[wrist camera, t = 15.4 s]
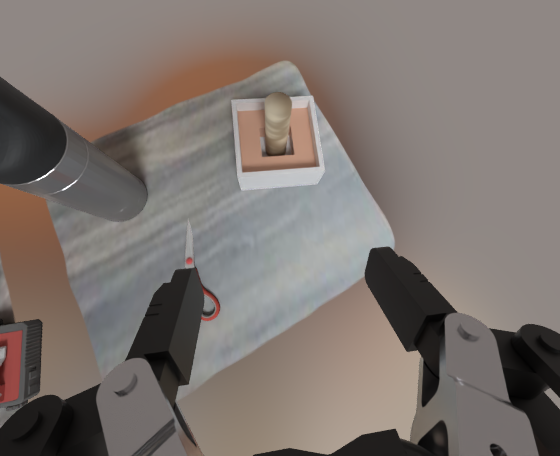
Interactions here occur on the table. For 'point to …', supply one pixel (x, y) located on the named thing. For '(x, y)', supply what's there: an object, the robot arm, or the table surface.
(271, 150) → the peg
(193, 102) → the table surface
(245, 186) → the box
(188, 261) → the scissors
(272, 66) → the table surface
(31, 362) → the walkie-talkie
